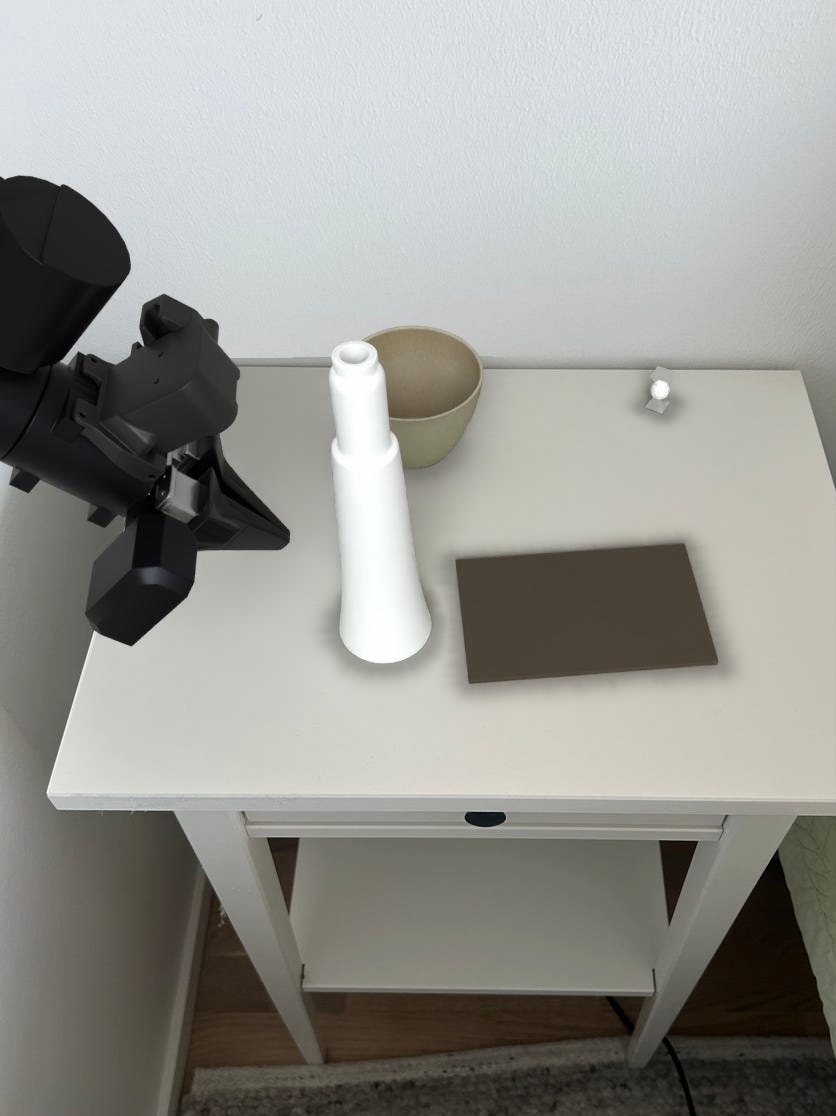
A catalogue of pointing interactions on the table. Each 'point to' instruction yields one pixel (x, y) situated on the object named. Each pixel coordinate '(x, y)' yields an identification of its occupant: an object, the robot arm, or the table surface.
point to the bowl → (427, 389)
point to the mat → (582, 613)
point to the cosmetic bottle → (372, 516)
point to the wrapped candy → (660, 389)
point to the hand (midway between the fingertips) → (286, 541)
